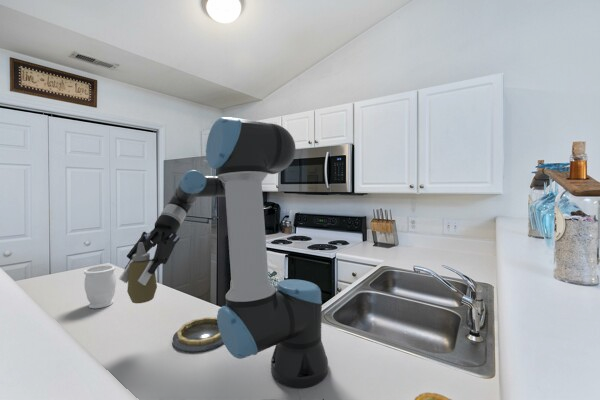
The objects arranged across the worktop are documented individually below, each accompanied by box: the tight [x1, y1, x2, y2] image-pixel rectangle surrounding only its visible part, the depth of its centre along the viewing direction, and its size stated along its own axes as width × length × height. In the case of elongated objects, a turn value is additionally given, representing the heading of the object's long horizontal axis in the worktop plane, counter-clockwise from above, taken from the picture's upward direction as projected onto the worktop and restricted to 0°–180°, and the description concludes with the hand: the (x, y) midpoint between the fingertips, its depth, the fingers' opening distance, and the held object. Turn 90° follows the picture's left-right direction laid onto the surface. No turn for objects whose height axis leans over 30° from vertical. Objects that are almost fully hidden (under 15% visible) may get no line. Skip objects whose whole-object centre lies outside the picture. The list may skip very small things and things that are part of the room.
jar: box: [83, 264, 117, 310], centre depth 115 cm, size 11×10×15 cm
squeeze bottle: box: [126, 242, 158, 304], centre depth 87 cm, size 8×8×18 cm
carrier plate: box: [172, 317, 225, 354], centre depth 91 cm, size 18×18×2 cm
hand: (132, 281), depth 84 cm, fingers closed on squeeze bottle, 6 cm apart
